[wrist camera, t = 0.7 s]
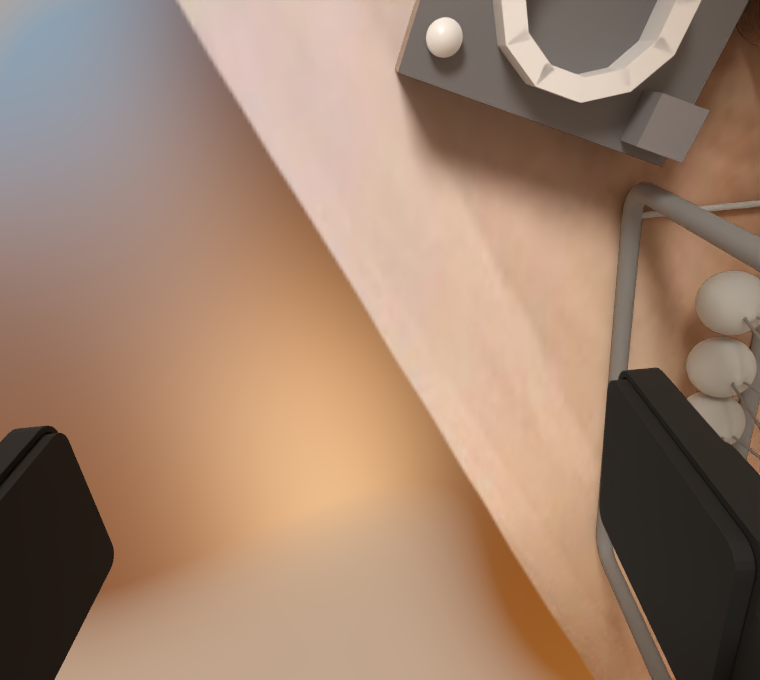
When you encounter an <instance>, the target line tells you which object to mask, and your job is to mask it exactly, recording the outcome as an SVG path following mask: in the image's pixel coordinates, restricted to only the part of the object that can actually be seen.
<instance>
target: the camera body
mask: <svg viewBox="0 0 760 680" xmlns="http://www.w3.org/2000/svg"><path fill="white" fill-rule="evenodd" d="M748 1H749V0H416V1H415V4H414V7H413V11H412V14H411V17H410V21H409V24H408V27H407V30H406V34H405V37H404V40H403V43H402V47H401V50H400V53H399V57H398V60H397V63H396V66H395V70H396V71H397V72H398V73H401V74H403V75H406V76H409V77H412V78H415V79H417V80H420V81H423V82H426V83H429V84H431V85H434V86H437V87H440V88H443V89H445V90H448V91H451V92H454V93H457V94H459V95H462V96H465V97H468V98H471V99H473V100H476V101H479V102H482V103H485V104H487V105H490V106H493V107H496V108H499V109H501V110H504V111H507V112H510V113H513V114H515V115H518V116H521V117H524V118H527V119H529V120H532V121H535V122H538V123H541V124H543V125H546V126H549V127H552V128H555V129H557V130H560V131H563V132H566V133H569V134H571V135H574V136H577V137H580V138H583V139H585V140H588V141H591V142H594V143H597V144H599V145H602V146H605V147H608V148H611V149H613V150H616V151H619V152H622V153H625V154H627V155H630V156H633V157H636V158H639V159H641V160H644V161H647V162H650V163H653V164H655V165H658V166H661V167H662V165H663V164H664V162H665V160H666V158H670V159H673V160H675V161H678V162H681V163H682V162H683V160H684V158H685V156H686V154H687V153H688V151H689V149H690V147H691V145H692V143H693V141H694V140H695V138H696V136H697V134H698V132H699V130H700V128H701V126H702V125H703V123H704V121H705V119H706V117H707V115H708V113H709V112H710V111H709V110H707V109H704V108H701V107H699V106H696V105H694V104H695V102H696V100H697V98H698V97H699V95H700V93H701V91H702V89H703V87H704V85H705V83H706V81H707V79H708V77H709V76H710V74H711V72H712V70H713V68H714V66H715V64H716V62H717V60H718V58H719V56H720V54H721V53H722V51H723V49H724V47H725V45H726V43H727V41H728V39H729V37H730V35H731V33H732V31H733V30H734V28H735V26H736V24H737V22H738V20H739V18H740V16H741V14H742V12H743V10H744V9H745V7H746V5H747V3H748Z"/></svg>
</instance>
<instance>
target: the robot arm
mask: <svg viewBox="0 0 760 680" xmlns="http://www.w3.org/2000/svg"><path fill="white" fill-rule="evenodd" d="M599 510H600V516H601V520H602V523H603V526H604V528H605V530H606V532H607V535H608V537H609V539H610V541H611V543H612V545H613V547H614V549H615V551H616V554H617V556H618V558H619V560H620V562H621V564H622V566H623V568H624V570H625V573H626V575H627V577H628V579H629V581H630V583H631V585H632V587H633V589H634V592H635V594H636V596H637V598H638V600H639V602H640V604H641V606H642V608H643V611H644V613H645V615H646V617H647V619H648V621H649V623H650V625H651V627H652V630H653V632H654V634H655V636H656V638H657V640H658V642H659V644H660V646H661V649H662V651H663V653H664V655H665V657H666V659H667V661H668V663H669V665H670V668H671V670H672V672H673V674H674V676H675V678H676V680H760V475H759V474H758V473H757V472H756V471H755V470H754V468H753V467H752V466H751V465H750V464H749V463H748V462H747V461H746V459H745V458H744V457H743V456H742V455H741V454H740V453H739V452H738V451H737V449H735V448H734V447H733V446H732V445H731V444H730V443H727V442H724V441H723V440H722V438H721V437H720V436H719V435H718V434H717V433H716V432H715V430H714V429H713V428H712V427H711V426H710V425H709V424H708V423H707V421H706V420H705V419H704V418H703V417H702V416H701V415H700V413H699V412H698V411H697V410H696V409H695V408H694V407H693V405H692V404H691V403H690V402H689V401H688V400H687V399H686V398H685V396H684V395H683V394H682V393H681V392H680V391H679V390H678V388H677V387H676V386H675V385H674V384H673V383H672V382H671V380H670V379H669V378H668V377H667V376H666V375H665V374H664V373H663V371H662V370H660V369H659V368H647V369H636V370H626V371H622V372H621V373H620V375H619V377H618V380H611V381H610V382H609V384H608V390H607V404H606V417H605V430H604V444H603V457H602V471H601V484H600V497H599ZM113 559H114V551H113V545H112V543H111V540H110V538H109V536H108V533H107V531H106V529H105V526H104V524H103V521H102V519H101V517H100V514H99V512H98V509H97V507H96V505H95V502H94V500H93V497H92V495H91V493H90V490H89V488H88V486H87V483H86V481H85V479H84V476H83V474H82V471H81V469H80V466H79V464H78V462H77V460H76V457H75V455H74V452H73V450H72V447H71V445H70V443H69V440H68V439H67V437H66V436H65V435H64V434H62V433H58V432H57V430H56V429H55V428H53V427H51V426H40V427H30V428H19V429H14V430H12V431H11V432H10V433H9V434H8V435H7V436H6V437H5V438H4V439H3V440H2V441H1V442H0V680H54V679H55V677H56V675H57V673H58V671H59V670H60V668H61V666H62V664H63V662H64V660H65V658H66V656H67V654H68V652H69V650H70V648H71V646H72V644H73V642H74V640H75V638H76V636H77V634H78V632H79V630H80V628H81V626H82V624H83V622H84V620H85V618H86V616H87V614H88V612H89V610H90V608H91V606H92V604H93V603H94V601H95V598H96V597H97V594H98V593H99V591H100V589H101V587H102V585H103V583H104V581H105V579H106V577H107V575H108V573H109V571H110V569H111V567H112V563H113Z"/></svg>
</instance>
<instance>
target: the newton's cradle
mask: <svg viewBox="0 0 760 680" xmlns="http://www.w3.org/2000/svg"><path fill="white" fill-rule="evenodd" d="M645 205H647V206H648V207H650V208H652V209H654V210H655V211H646V212H643V209H644V206H645ZM752 207H760V200H755V201H745V202H735V203H725V204H715V205H705V206H697V205H695V204H693V203H691V202H689V201H687V200H685V199H683V198H681V197H679V196H677V195H675V194H673V193H671V192H669V191H667V190H664V189H662V188H660V187H658V186H656V185H654V184H652V183H646V182H642V183H639V184H637V185H636V186H635V187H633V188H632V189H631V190H630V192H629V193H628V195H627V197H626V200H625V203H624V206H623V212H622V222H621V234H620V246H619V258H618V271H617V283H616V295H615V307H614V320H613V332H612V344H611V356H610V369H609V381H608V384H609V382H610V381H611V380H618V377H619V375H620V373H621V372H622V371H626V370H627V368H628V357H629V347H630V337H631V327H632V316H633V306H634V296H635V285H636V275H637V265H638V254H639V244H640V234H641V224H642V219H643V218H653V217H663V216H665V217H667V218H669V219H670V220H672V221H674V222H676V223H677V224H679V225H681V226H682V227H684V228H686V229H687V230H689V231H691V232H693V233H694V234H696V235H698V236H699V237H701V238H703V239H704V240H706V241H708V242H710V243H711V244H713V245H715V246H716V247H718V248H720V249H721V250H723V251H725V252H726V253H728V254H730V255H732V256H733V257H735V258H737V259H738V260H740V261H742V262H743V263H745V264H747V265H749V266H750V267H752V268H754V269H755V270H757V271H759V272H760V237H759V236H757V235H755V234H753V233H751V232H749V231H747V230H745V229H743V228H741V227H739V226H737V225H735V224H733V223H731V222H729V221H727V220H725V219H723V218H721V217H719V216H717V215H715V214H713V213H711V212H712V211H722V210H732V209H742V208H752ZM695 308H696V312H697V315H698V317H699V319H700V320H701V321H702V323H703V324H704V325H705V326H706V327H708V328H709V329H711V330H712V331H714V332H717V333H719V334H723V335H740V334H744V333H747V332H749V331H751V330H752V332H753V338H752V343H751V348H750V349H749V348H748V347H747V346H746V345H745V344H744V343H742V342H741V341H739V340H737V339H734V338H731V337H726V336H715V337H710V338H707V339H705V340H703V341H701V342H699V343H698V344H697V345H695V346H694V347H693V348H692V350H691V351H690V353H689V355H688V357H687V361H686V371H687V375H688V378H689V380H690V381H691V383H692V384H693V385H694V386H695V387H696V388H697V389H698V390H699V392H696V393H694V394H692V395H691V396H689V397H688V398H687V400H688V401H689V402H690V403H691V404H692V405H693V407H694V408H695V409H696V410H697V411H698V412H699V413H700V415H701V416H702V417H703V418H704V419H705V420H706V421H707V423H708V424H709V425H710V426H711V427H712V428H713V429H714V430H715V432H716V433H717V434H718V435H719V436H720V437H721V438H722V440H723V441H724V442H727V443H730V444H731V445H732V446H733V447H734V448H735V449H737V451H738V452H739V453H740V454H741V455H742V456H743V457H744V458H745V459H746V460H747V455H748V451H750V452H751V453H752V454H754V455H755V456H756V457H758V458H759V459H760V455H758V454H757V453H756V452H754V451H753V450H752V449H751V448H749V446H750V441H751V437H752V432H753V428H754V423H756V425H757V426H758V428H759V429H760V423H759V422H758V420H757V419H756V414H757V409H758V405H759V400H760V279H759V278H757V277H756V276H754V275H752V274H750V273H747V272H744V271H737V270H730V271H725V272H721V273H718V274H715V275H714V276H712V277H710V278H709V279H708V280H706V281H705V282H704V283H703V284H702V286H701V287H700V288H699V290H698V292H697V295H696V300H695ZM740 393H741V394H740ZM735 395H738V397H739V398H740V403H738V402H737V401H736V400H735V399H734V398H733V397H731V396H735ZM603 444H604V442H603ZM602 457H603V455H602ZM601 471H602V467H601ZM600 484H601V479H600ZM599 497H600V491H599ZM596 539H597V547H598V553H599V556H600V560H601V563H602V566H603V568H604V571H605V573H606V575H607V577H608V580H609V582H610V584H611V587H612V589H613V591H614V594H615V596H616V598H617V600H618V603H619V605H620V607H621V610H622V612H623V614H624V616H625V619H626V621H627V623H628V626H629V628H630V630H631V633H632V635H633V637H634V639H635V642H636V644H637V646H638V649H639V651H640V653H641V655H642V658H643V660H644V662H645V665H646V667H647V669H648V672H649V674H650V676H651V678H652V680H672V679H671V677H670V675H669V673H668V671H667V668H666V666H665V664H664V662H663V660H662V658H661V656H660V653H659V651H658V649H657V647H656V645H655V643H654V641H653V638H652V636H651V634H650V632H649V630H648V628H647V626H646V623H645V621H644V619H643V617H642V615H641V613H640V611H639V608H638V606H637V604H636V602H635V600H634V598H633V596H632V593H631V591H630V589H629V587H628V585H627V583H626V581H625V578H624V576H623V574H622V572H621V570H620V568H619V566H618V563H617V561H616V558H615V555H614V552H613V547H612V543H611V541H610V539H609V537H608V535H607V532H606V530H605V528H604V526H603V523H602V520H601V516H600V510H599V504H598V516H597V528H596Z"/></svg>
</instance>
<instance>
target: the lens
mask: <svg viewBox="0 0 760 680" xmlns="http://www.w3.org/2000/svg"><path fill="white" fill-rule="evenodd" d="M736 26H737V28H738V30H739V32H740V33H741V35H742V36H743V37H744V38H745V39H747V40H748V41H749V42H751V43H753V44H755V45H759V46H760V0H749V1H748V3H747V5H746V7H745V9H744V10H743V12H742V14H741V16H740V18H739V20H738V22H737V24H736Z"/></svg>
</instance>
